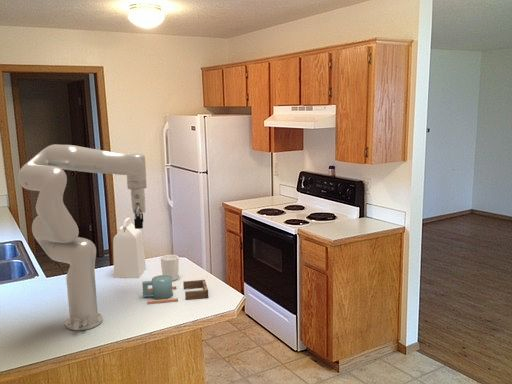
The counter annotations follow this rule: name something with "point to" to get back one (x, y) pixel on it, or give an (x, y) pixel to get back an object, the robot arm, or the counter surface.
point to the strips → (162, 299)
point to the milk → (128, 252)
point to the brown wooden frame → (195, 294)
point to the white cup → (170, 266)
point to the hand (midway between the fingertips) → (139, 225)
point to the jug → (158, 287)
